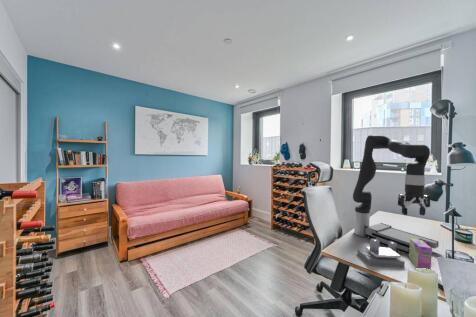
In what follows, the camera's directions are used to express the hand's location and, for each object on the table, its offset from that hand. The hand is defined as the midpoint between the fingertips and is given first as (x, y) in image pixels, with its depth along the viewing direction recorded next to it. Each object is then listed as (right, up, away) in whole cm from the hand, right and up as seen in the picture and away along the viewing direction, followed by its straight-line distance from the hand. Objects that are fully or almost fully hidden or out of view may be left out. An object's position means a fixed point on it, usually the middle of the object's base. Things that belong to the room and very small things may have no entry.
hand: (413, 214), depth 102 cm
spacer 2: (+4, -29, +19) cm, 35 cm away
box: (+10, -29, +7) cm, 32 cm away
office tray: (+17, -29, +30) cm, 45 cm away
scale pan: (-9, -25, +10) cm, 28 cm away
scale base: (-10, -29, +10) cm, 32 cm away
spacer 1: (-13, -23, +10) cm, 29 cm away
